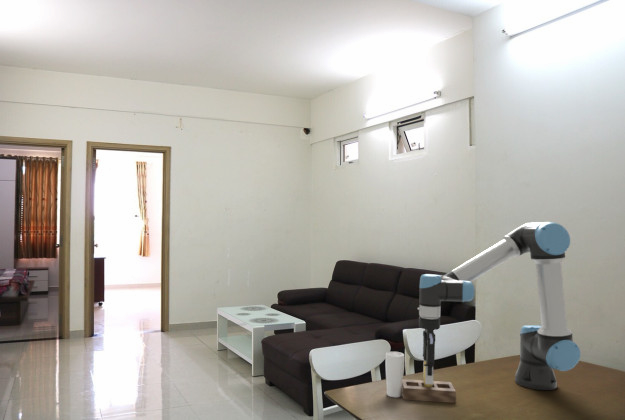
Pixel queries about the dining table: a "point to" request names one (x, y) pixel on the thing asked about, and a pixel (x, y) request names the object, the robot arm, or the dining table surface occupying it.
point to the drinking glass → (394, 373)
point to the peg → (424, 378)
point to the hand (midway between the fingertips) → (427, 381)
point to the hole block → (428, 391)
